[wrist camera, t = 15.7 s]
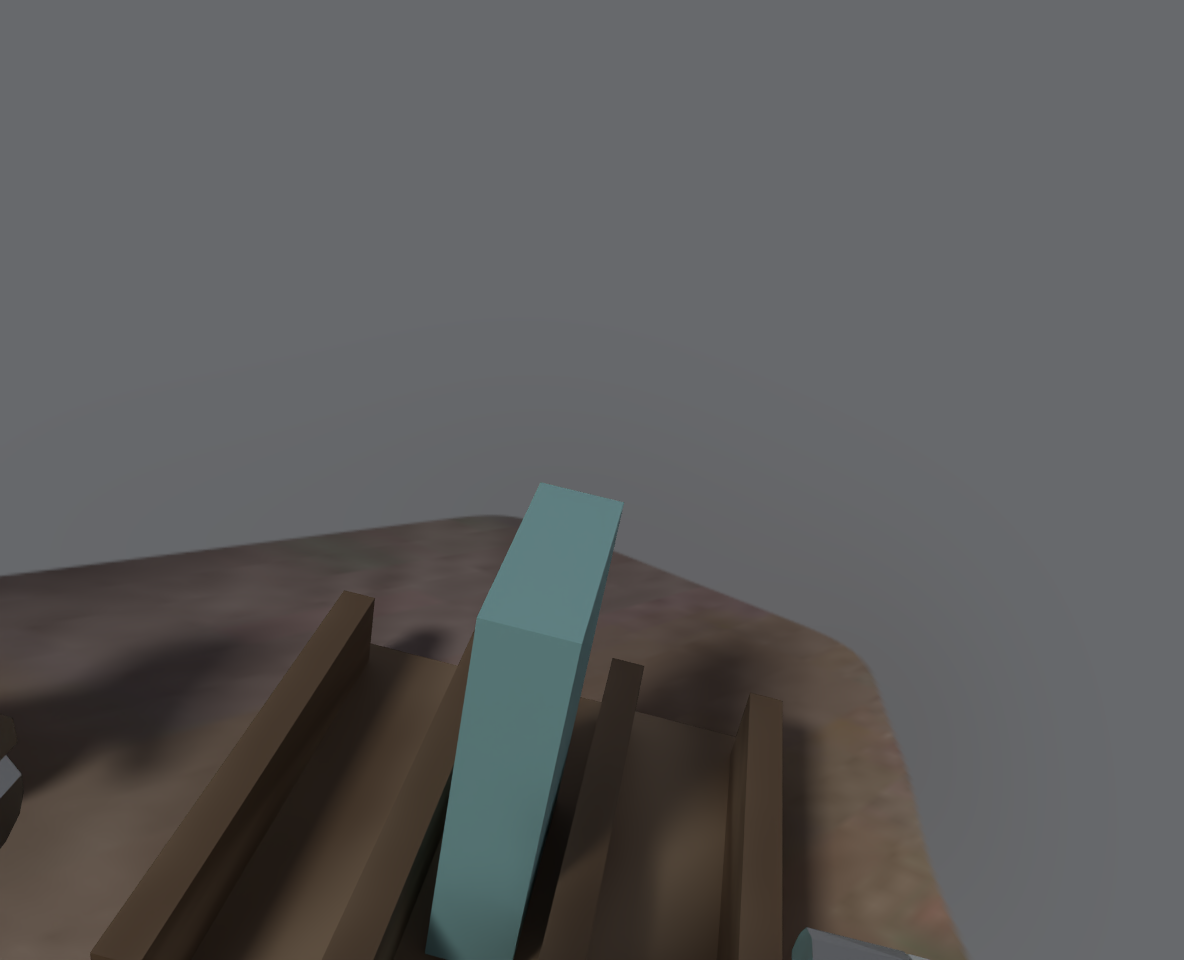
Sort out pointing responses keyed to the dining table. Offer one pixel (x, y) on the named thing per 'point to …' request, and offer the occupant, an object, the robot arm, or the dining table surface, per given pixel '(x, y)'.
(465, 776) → the light teal rectangular block
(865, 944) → the robot arm
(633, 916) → the walnut rack
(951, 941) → the dining table surface
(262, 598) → the dining table surface
